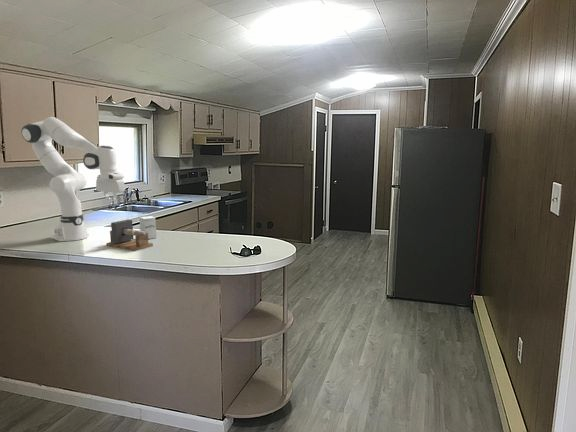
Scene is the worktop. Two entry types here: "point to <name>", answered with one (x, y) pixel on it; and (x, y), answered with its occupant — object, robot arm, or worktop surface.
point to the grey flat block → (117, 231)
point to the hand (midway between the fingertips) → (111, 199)
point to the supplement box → (148, 226)
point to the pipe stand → (131, 244)
